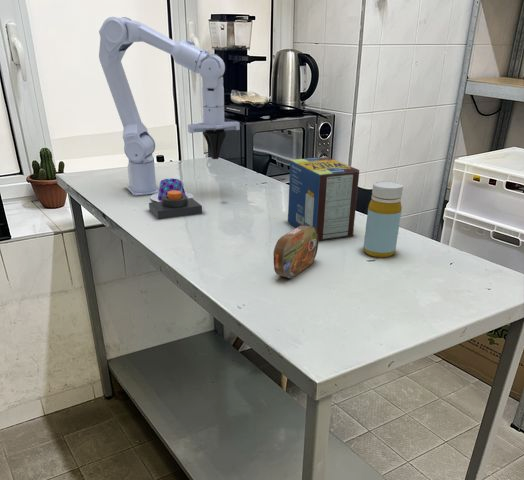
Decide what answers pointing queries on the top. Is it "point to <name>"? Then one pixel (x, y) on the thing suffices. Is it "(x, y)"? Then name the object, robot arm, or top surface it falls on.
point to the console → (175, 207)
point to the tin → (295, 251)
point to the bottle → (383, 219)
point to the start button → (174, 195)
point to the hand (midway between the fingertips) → (214, 158)
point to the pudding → (169, 189)
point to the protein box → (323, 196)
